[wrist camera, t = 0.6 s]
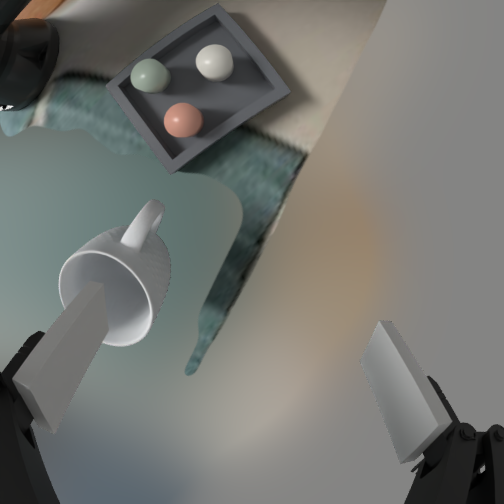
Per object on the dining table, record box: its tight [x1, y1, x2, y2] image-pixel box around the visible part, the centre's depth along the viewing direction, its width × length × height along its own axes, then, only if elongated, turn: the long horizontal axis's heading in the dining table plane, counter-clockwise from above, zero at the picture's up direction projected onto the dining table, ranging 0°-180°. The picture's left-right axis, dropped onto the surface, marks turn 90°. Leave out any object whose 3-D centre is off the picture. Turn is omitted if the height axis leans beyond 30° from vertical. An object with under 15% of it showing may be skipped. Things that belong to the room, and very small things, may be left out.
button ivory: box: [196, 44, 234, 82], centre depth 26 cm, size 4×4×3 cm
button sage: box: [131, 59, 171, 94], centre depth 26 cm, size 4×4×3 cm
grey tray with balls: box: [106, 3, 291, 175], centre depth 29 cm, size 14×16×3 cm
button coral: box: [164, 103, 204, 137], centre depth 28 cm, size 4×4×3 cm
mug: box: [59, 199, 171, 346], centre depth 31 cm, size 15×11×13 cm
